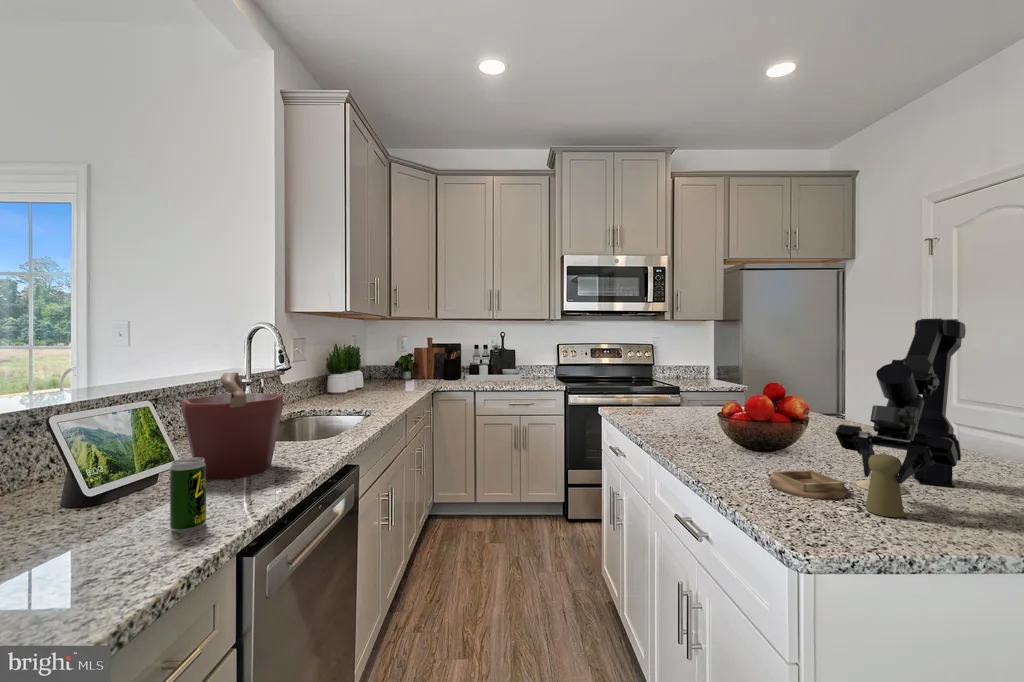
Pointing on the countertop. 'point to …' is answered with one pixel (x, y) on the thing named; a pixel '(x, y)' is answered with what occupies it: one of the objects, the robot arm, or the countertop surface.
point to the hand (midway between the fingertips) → (882, 478)
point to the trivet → (808, 484)
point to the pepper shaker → (884, 486)
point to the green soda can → (187, 494)
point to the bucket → (233, 430)
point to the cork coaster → (865, 484)
